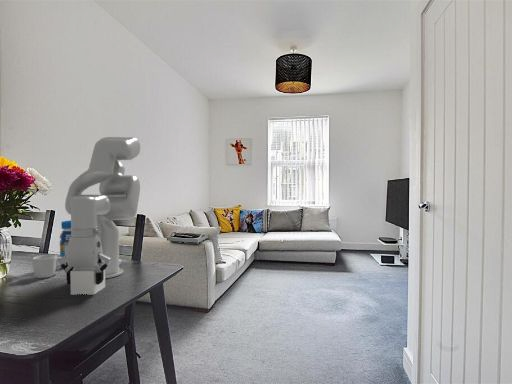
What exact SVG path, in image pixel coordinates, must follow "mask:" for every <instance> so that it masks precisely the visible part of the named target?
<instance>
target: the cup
mask: <svg viewBox="0 0 512 384" xmlns="http://www.w3.org/2000/svg"><path fill="white" fill-rule="evenodd" d="M60 258H62V257H60V256H57V254H42V255H36V256H33V257H32V258H31V261H32V268H33V273H34V277H35V278H36V279H47V278H51V277H53V276H54V275H55V273H56V271H57V270H60V269H63V268H62V267H61V265H60V264H59V266H58V264H57V263H58V262H59V261H58V259H60Z"/></svg>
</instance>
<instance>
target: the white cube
mask: <svg viewBox="0 0 512 384" xmlns="http://www.w3.org/2000/svg"><path fill="white" fill-rule="evenodd" d="M96 273H97V270H96V269H95V268H94V267H75V269H74V268H73V270H72V271H70V280H71V284H70V295H73V296H74V295H75V296H76V295H77V294H78V296H80V295H81V294H83V295H84V294H85V295H86V294H87V295H89V296H90V295H91V296H92V295H94V296H95V294H97V293H98V292H100V291H102V290H103V289H104V288H106V278H105V270H104V271H103V273H104V279H103V282H102V283H100V284H99V285H97V284H96ZM79 294H80V295H79ZM85 295H84V296H85ZM87 295H86V296H87Z"/></svg>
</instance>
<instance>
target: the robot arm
mask: <svg viewBox="0 0 512 384" xmlns="http://www.w3.org/2000/svg"><path fill="white" fill-rule="evenodd" d="M140 151H141V142H140V141H139V139H138V138H137V137H131V136H129V137H128V136H106V137H102V138H101V139H99V140H98V141H96V142H95V144H94V146H93V150H92V153H91V158H90V162H89V166H88V169H87V170H86V171H84V172H82V173H81V174H80V175H79V176H77V177H76V179H74V180H73V181H72V182H71V184H70V186H69V188H68V191H67V195H66V198H65V203H64V208H65V211H66V213H67V214H69V215H70V221H71V237H70V239H69V243H68V250H67V255H65V256H64V257H62V258H60V259H58V261H57V262H58V263H59V266H60V265H61V267H62V268H61V269H63V272H64V273H66V275H65V276H66V284H67V285H71V280H70V271H72V270H74V268H79V267H94V268H95V269H96V270H97V273H96V284H97V285H99V284H100V283H102V282H103V279H104V273H103V271H104V270H105V279H111V278H115V277H118V276H121V275H122V274H123V273H124V268H122V267H120V264H122V263H123V262H122V261H123V260H122V259H120V231H119V228H118V226H117V225H116V224H115V222H114V221H128V220H129V221H130V220H133V219H135V217H136V216H137V211H138V207H139V198H140V193H141V183H140V180H139V178H138V177H137V176H135V175H131V174H130V175H129V174H125V170H126V169H125V166H124V165H123V163H122V162H121V161H131V160H133V159H134V158H137V157H138V156H139V154H140ZM95 185H99V187H98V190H99V194H83V192H84V191H86V190H87V189H89V188H90V187H93V186H95ZM66 259H67V263H66V262H65V260H66Z"/></svg>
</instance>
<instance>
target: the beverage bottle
mask: <svg viewBox="0 0 512 384" xmlns="http://www.w3.org/2000/svg"><path fill="white" fill-rule="evenodd" d="M61 229H62V231H61V233H60V235H59V239H60V240H59V243H58V244H59V257H64V256H65V255H67V250H68V243H69V239H70V237H71V220H63V221H61ZM65 262H66V263H67V259H66V260H65Z"/></svg>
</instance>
